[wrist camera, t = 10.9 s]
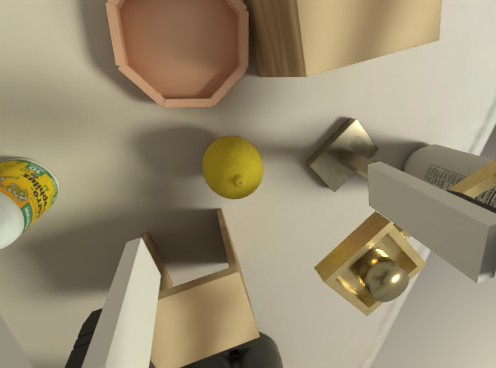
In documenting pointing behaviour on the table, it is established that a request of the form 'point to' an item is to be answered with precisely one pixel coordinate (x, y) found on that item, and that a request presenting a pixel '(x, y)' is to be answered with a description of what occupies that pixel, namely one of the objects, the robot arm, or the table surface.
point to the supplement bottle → (23, 196)
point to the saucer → (180, 47)
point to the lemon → (232, 167)
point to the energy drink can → (447, 168)
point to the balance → (373, 226)
